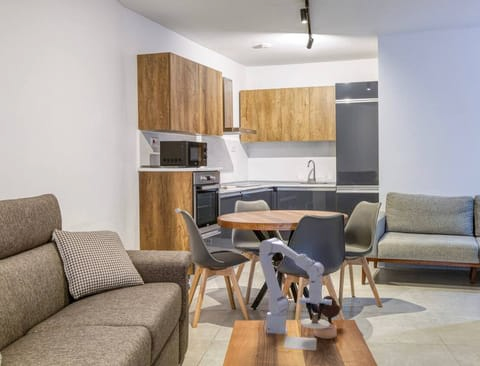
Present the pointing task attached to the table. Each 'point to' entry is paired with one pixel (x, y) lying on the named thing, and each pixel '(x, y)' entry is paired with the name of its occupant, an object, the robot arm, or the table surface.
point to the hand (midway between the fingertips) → (315, 319)
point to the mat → (300, 343)
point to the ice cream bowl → (331, 309)
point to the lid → (315, 322)
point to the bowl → (327, 332)
